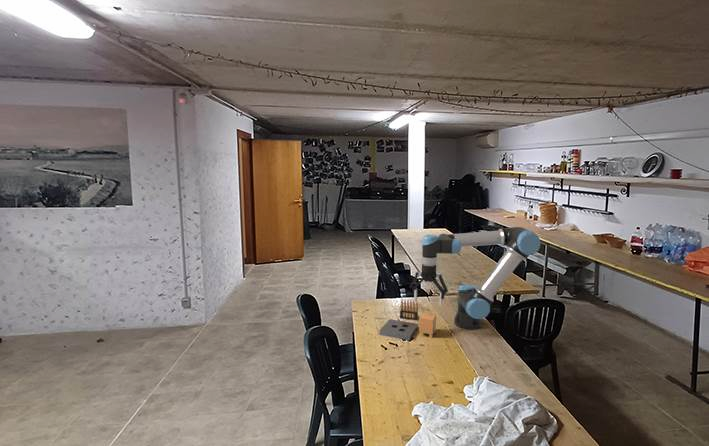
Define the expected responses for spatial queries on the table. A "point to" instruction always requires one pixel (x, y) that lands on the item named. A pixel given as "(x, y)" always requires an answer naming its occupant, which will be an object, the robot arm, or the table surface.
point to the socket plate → (399, 329)
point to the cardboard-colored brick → (427, 324)
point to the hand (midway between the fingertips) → (427, 302)
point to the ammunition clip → (409, 310)
